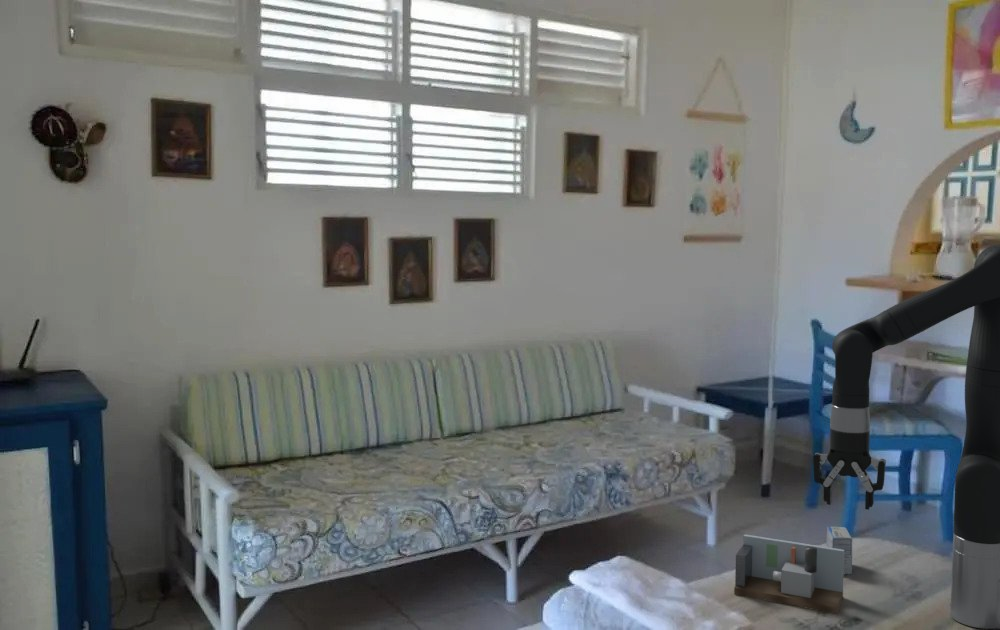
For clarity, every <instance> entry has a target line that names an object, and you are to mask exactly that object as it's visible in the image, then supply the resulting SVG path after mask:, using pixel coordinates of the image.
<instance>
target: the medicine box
mask: <svg viewBox="0 0 1000 630" xmlns="http://www.w3.org/2000/svg"><path fill="white" fill-rule="evenodd" d="M826 547H829V548H836V549H842V550H844V573H845V574H844V575H850V574H851V575H852V574H853V537H852V536H851V534H850V533H849V531H848V528H847V527H844V526H827V527H826Z"/></svg>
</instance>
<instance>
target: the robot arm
mask: <svg viewBox="0 0 1000 630" xmlns="http://www.w3.org/2000/svg"><path fill="white" fill-rule="evenodd" d="M973 307H974V308H973ZM970 308H973V310H974V311H973V318H972V319H973V320H972V325H971V330H970V337H969V345H968V353H967V357H966V359H967V360H966V368H965V377H964V409H965V410H964V412H965V420H966V422H965V423H966V425H965V426H966V427H965V435H964V441H963V444H962V445H963V447H962V450H961V455H960V460H959V463H958V465H957V468H956V474H955V479H954V480H955V481H954V497H953V498H954V501H953V505H954V507H953V539H952V561H951V563H952V567H951V585H950V586H951V587H950V604H949V605H950V608H949V609H950V610H949V611H950V612H949V614H950V617H951V619H953V620H954V621H956V622H958V623H959V624H963V625H966V626H969V627H972V628H976V629H977V628H978V629H987V630H988V629H999V630H1000V244H994V245H991V246H988V247H986V248H985V249H983V250H982V251H981V252H979V254H978V256H977V257H976V259H975V262H974V263H973V267H972V268H971V269H970V270H968V271H967V272H965V273H964V274H962V275H960V276H958V277H956V278H954V279H952V280H950V281H948V282H945V283H943V284H942V285H941V284H940V285H939V286H936V287H934V288H931V289H929V290H926V291H924V292H920V293H917V294H916V295H913V296H911V297H909V298H907V299H905V300H902V301H901V302H899V303H896V304H895V305H893V306H890V307H889V308H887V309H885V310H883V311H882V312H880V313H878V314H876V315H875V316H872V317H870V318H868V319H865V320H863V321H859V322H858V323H856V324H853V325H850V326H849V327H847V328H844V329H843V330H841V331H839V332H837V334H836V335H835V336H834V338H833V340H832V344H831V345H832V346H831V348H832V352H833V354H834V358H835V359H834V360H835V361H834V369H835V370H834V373H835V374H834V376H835V377H834V380H833V382H832V394H831V395H832V397H831V398H832V399H831V400H832V402H831V404H832V405H831V410H830V421H829V426H830V430H829V433H830V434H829V451H828V453H820V452H815V454H814V455H813V462H812V463H813V481H814V482H815V484H819V485H820V484H821V485H822V486H823V502H826V505H829V506H831V504H832V502H833V501H832V500H833V499H832V498H833V497H832V495H833V485H832V482H833V481H834V480H835V478H836V477H837V475H839V476H841V477H851V478H857V477H858V478H859V480H860V482H861V483H862V484H863V486H864V488H865V498H864V499H865V501H864V503H865V504H864V505H865V507H864V508H865V510H867V511H869V510H870V508H872V507H873V505H874V504H875V503H874V502H875V500H874V498H875V497H874V496H875V495H874V494H875V492H876V491H882V490H883V489H884V486H885V475H886V465H887V461H886V459H884V458H880V459H877V458H872V457H871V455H870V438H871V437H870V436H871V435H870V434H871V433H870V432H871V431H870V429H871V414H870V378H871V372H872V371H871V370H872V363H873V353H875V352H877V351H879V350H882V348H885V347H888V346H894V345H898V344H900V343H902V342H905V341H906V340H908V339H911V338H913V337H914V336H917V335H918V334H920V333H922V332H924V331H927V330H928V329H930V328H932V327H934V326H936V325H938V324H939V323H941V322H944V321H946V320H947V319H950V318H952V317H953V316H955V315H957V314H960V313H962V312H964V311H966V310H969V309H970ZM826 460H827V461H828V463H829V464H830V466H831V467H832V469H831V471H830V472H829V474H828V475H827V477H824V476H823V470H822V469H823V468H822V465H824V464H825V462H826ZM871 465H872V466H873V469H874V470H875V471H877V474H876V475H877V476H876V482H873V481H872V480H871V478H870V475H869V474H868V471H867V469H868V468H869V467H870V466H871Z"/></svg>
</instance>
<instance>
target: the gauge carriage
mask: <svg viewBox="0 0 1000 630" xmlns="http://www.w3.org/2000/svg"><path fill="white" fill-rule="evenodd" d="M815 572H817V548H816V547H813V546H806V547H805V565H800V564H796V547H792V548H791V563H788V562H786V563H785V565H784V566H783V568H782V570H781V572H778V571H774V573H773V580H774V581H780V582H781V593H785V594H790V595H796V596H801V597H807V598H811V596H812V594H813V591H814V582H815Z"/></svg>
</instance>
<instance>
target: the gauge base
mask: <svg viewBox="0 0 1000 630" xmlns="http://www.w3.org/2000/svg"><path fill="white" fill-rule="evenodd" d="M733 589H734V590H733V592H734V593H733V595H735V596H737V595H738V596H743V597H747V598H753V599H759V600H764V601H768V602H774V603H780V604H784V605H791V606H795V607H800V608H805V607H807V608H806V609H810V608H812V610H815V609H817V611H820V612H821V611H822V612H826V611H827V613H831V612H834V613H833V614H838V613H839V609H840V607H841V604H842V602H843V601H842V600H843V599H842V598H844V591H843V592H838V591H832V590H827V589H821V588H816V587H814V591H813V594H812V596H811V598H807V597H801V596H796V595H790V594H785V593H781V582H780V581H774V580H770V579H765V578H759V577H754V576H752V577H751V578H750V580H749V582H748V583H747V585H746V586H745V588H744V587H738V586H735V585H734V588H733Z"/></svg>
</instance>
